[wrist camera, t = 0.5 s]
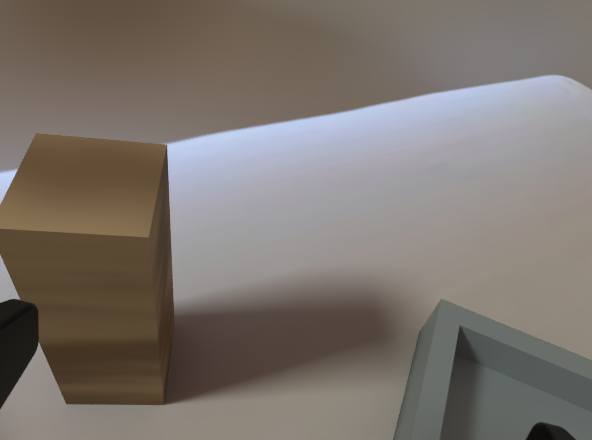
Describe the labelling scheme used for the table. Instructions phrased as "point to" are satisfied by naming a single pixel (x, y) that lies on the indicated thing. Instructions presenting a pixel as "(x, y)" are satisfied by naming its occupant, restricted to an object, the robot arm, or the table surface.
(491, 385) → the tray
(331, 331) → the table surface
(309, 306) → the table surface
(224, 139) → the table surface
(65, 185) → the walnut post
